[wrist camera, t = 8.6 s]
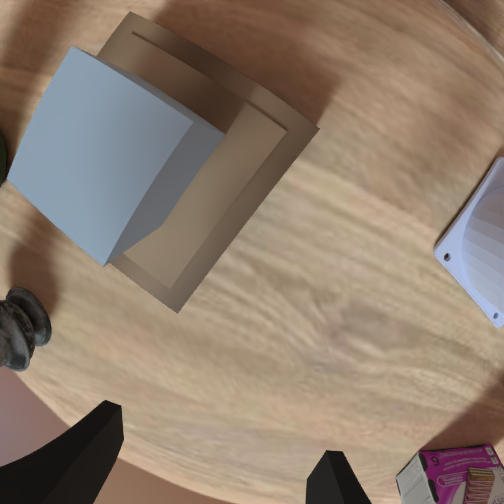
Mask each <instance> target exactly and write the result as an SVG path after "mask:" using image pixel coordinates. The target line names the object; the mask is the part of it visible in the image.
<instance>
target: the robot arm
mask: <svg viewBox="0 0 504 504" xmlns="http://www.w3.org/2000/svg"><path fill="white" fill-rule="evenodd" d="M433 252H434V256H435V257H436V258H437V259H438V260H439V261H440V262H441V264H442V265H443V266H444V267H445V268H446V269H447V270H448V271H449V272H450V273H451V274H452V276H453V277H454V278H455V279H456V280H457V281H458V282H459V283H460V284H461V286H462V287H463V288H464V289H465V290H466V291H467V293H468V294H469V295H470V296H471V297H472V298H473V300H474V301H475V302H476V303H477V304H478V306H479V307H480V308H481V309H482V310H483V312H484V313H485V314H486V315H487V317H488V318H489V319H490V320H491V322H492V323H493V324H494V325H495V326H496V327H497V328H500V327H502V326H503V325H504V157H498V158H497V159H496V160H495V162H494V163H493V165H492V167H491V168H490V170H489V171H488V173H487V174H486V176H485V178H484V179H483V181H482V182H481V184H480V185H479V187H478V188H477V190H476V191H475V193H474V194H473V195H472V197H471V198H470V200H469V201H468V203H467V204H466V205H465V207H464V208H463V210H462V211H461V212H460V214H459V215H458V217H457V218H456V219H455V221H454V222H453V223H452V225H451V226H450V227H449V229H448V230H447V231H446V233H445V234H444V235H443V237H442V238H441V239H440V240H439V242H438V243H437V244H436V246H435V247H434V251H433ZM446 253H448V257H447V258H446V259H444V256H445V254H446ZM495 313H496V314H495ZM494 314H495V315H494ZM123 440H124V434H123V422H122V408H121V405H118V404H115V403H112V402H110V401H107V400H105V401H103V402H102V403H100V404H99V405H98V406H97V407H96V408H95V409H93V410H92V411H91V412H90V413H89V414H88V415H86V416H85V417H84V418H83V419H81V420H80V421H79V422H78V423H76V424H75V425H74V426H72V427H71V428H70V429H69V430H67V431H66V432H64V433H63V434H61V435H60V436H59V437H57V438H56V439H54V440H52V441H51V442H49V443H48V444H46V445H45V446H43V447H41V448H40V449H38V450H36V451H34V452H33V453H31V454H29V455H27V456H25V457H23V458H21V459H19V460H16V461H14V462H12V463H9V464H7V465H4V466H1V467H0V504H93V503H94V501H95V499H96V497H97V495H98V493H99V491H100V490H101V488H102V486H103V484H104V482H105V480H106V479H107V477H108V475H109V473H110V471H111V469H112V467H113V465H114V463H115V461H116V459H117V456H118V454H119V451H120V449H121V446H122V443H123ZM306 504H372V503H371V502H370V500H369V498H368V497H367V495H366V493H365V492H364V490H363V488H362V487H361V485H360V483H359V481H358V480H357V478H356V476H355V474H354V472H353V470H352V468H351V466H350V465H349V463H348V461H347V459H346V457H345V455H344V453H343V452H342V451H329V450H326V452H325V453H324V455H323V456H322V458H321V459H320V461H319V462H318V464H317V465H316V467H315V468H314V470H313V471H312V473H311V474H310V475H309V477H308V478H307V487H306Z"/></svg>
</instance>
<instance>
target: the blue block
mask: <svg viewBox="0 0 504 504" xmlns="http://www.w3.org/2000/svg"><path fill="white" fill-rule="evenodd" d="M225 135H226V134H224V133H223V132H222V131H220V130H219V129H217V128H216V127H214V126H213V125H212V124H210V123H209V122H207V121H206V120H204V119H203V118H201V117H200V116H199V115H197V114H196V113H194V112H193V111H191V110H190V109H188V108H187V107H185V106H184V105H182V104H181V103H179V102H178V101H176V100H175V99H173V98H172V97H170V96H169V95H167V94H165V93H164V92H162V91H161V90H159V89H158V88H156V87H155V86H153V85H151V84H150V83H148V82H147V81H145V80H143V79H142V78H140V77H138V76H136V75H134V74H132V73H130V72H128V71H126V70H124V69H122V68H120V67H118V66H116V65H114V64H112V63H110V62H108V61H105V60H103V59H101V58H99V57H97V56H94V55H92V54H90V53H88V52H86V51H83V50H81V49H79V48H76V47H74V46H72V47H71V49H70V50H69V52H68V53H67V55H66V57H65V58H64V60H63V61H62V63H61V65H60V66H59V68H58V70H57V71H56V73H55V75H54V77H53V78H52V80H51V82H50V84H49V85H48V87H47V89H46V91H45V93H44V95H43V97H42V99H41V100H40V102H39V104H38V106H37V108H36V110H35V112H34V114H33V116H32V119H31V121H30V123H29V125H28V127H27V129H26V132H25V134H24V136H23V138H22V141H21V143H20V145H19V148H18V150H17V153H16V155H15V158H14V160H13V163H12V166H11V168H10V171H9V174H8V177H7V180H8V181H9V182H10V183H11V184H12V185H13V186H14V187H15V188H16V189H17V190H18V191H19V192H20V193H21V194H22V195H23V196H24V197H25V198H26V199H27V200H28V201H30V202H31V203H32V204H33V205H34V206H35V207H36V208H37V209H38V210H39V211H40V212H41V213H42V214H43V215H44V216H45V217H47V218H48V219H49V220H50V221H51V222H52V223H53V224H54V225H55V226H56V227H58V228H59V229H60V230H61V231H62V232H63V233H64V234H65V235H67V236H68V237H69V238H70V239H71V240H72V241H73V242H75V243H76V244H77V245H78V246H79V247H80V248H82V249H83V250H84V251H85V252H86V253H88V254H89V255H90V256H91V257H92V258H94V259H95V260H96V261H97V262H98V263H100V264H101V265H102V266H103V267H104V266H105V265H106V264H108V263H109V262H111V261H112V260H113V259H115V258H116V257H118V256H119V255H120V254H122V253H123V252H125V251H126V250H127V249H129V248H130V247H132V246H133V245H135V244H136V243H138V242H139V241H140V240H142V239H143V238H145V237H146V236H148V235H149V234H151V233H152V232H154V231H155V230H157V229H158V228H160V227H161V226H162V225H163V223H164V222H165V220H166V219H167V217H168V216H169V214H170V213H171V211H172V210H173V208H174V207H175V205H176V204H177V202H178V201H179V199H180V198H181V196H182V195H183V193H184V192H185V190H186V189H187V188H188V186H189V185H190V183H191V182H192V180H193V179H194V177H195V176H196V175H197V173H198V172H199V170H200V169H201V168H202V166H203V165H204V163H205V162H206V161H207V159H208V158H209V157H210V155H211V154H212V152H213V151H214V150H215V148H216V147H217V146H218V144H219V143H220V142H221V140H222V139H223V138H224V136H225Z"/></svg>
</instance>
